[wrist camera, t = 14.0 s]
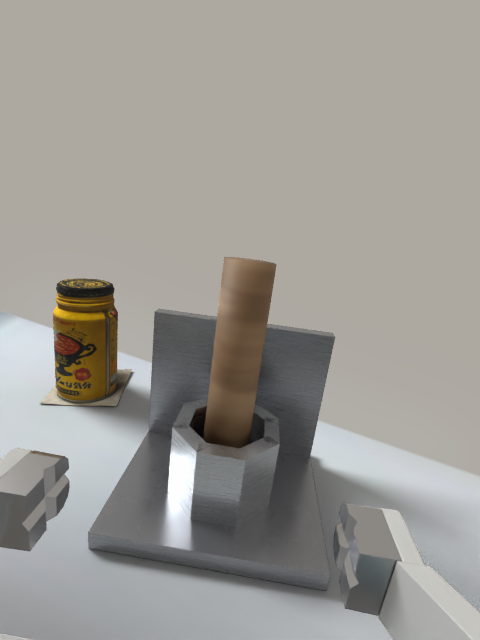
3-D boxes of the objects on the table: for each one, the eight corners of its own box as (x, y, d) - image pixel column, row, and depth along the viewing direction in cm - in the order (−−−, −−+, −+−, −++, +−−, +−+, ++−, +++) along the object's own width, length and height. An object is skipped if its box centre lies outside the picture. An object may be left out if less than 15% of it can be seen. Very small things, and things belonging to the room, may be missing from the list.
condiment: (39, 405, 33) (32, 285, 30) (70, 368, 41) (68, 271, 38) (116, 408, 34) (118, 293, 31) (132, 371, 42) (135, 277, 39)
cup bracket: (326, 590, 19) (374, 404, 16) (88, 548, 20) (86, 361, 16) (305, 453, 30) (330, 329, 27) (155, 429, 31) (162, 306, 28)
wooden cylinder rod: (192, 471, 25) (216, 255, 21) (231, 463, 26) (260, 259, 22) (207, 503, 22) (237, 261, 18) (249, 493, 24) (286, 266, 20)
